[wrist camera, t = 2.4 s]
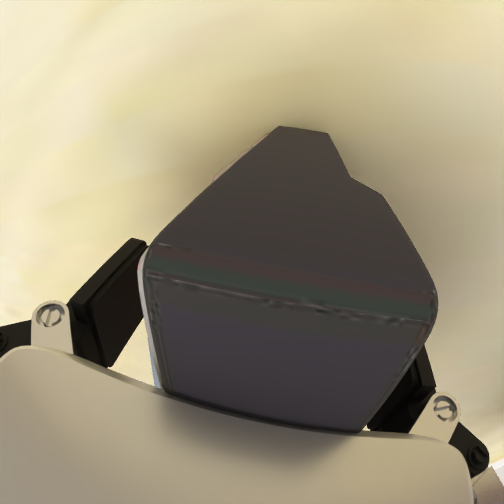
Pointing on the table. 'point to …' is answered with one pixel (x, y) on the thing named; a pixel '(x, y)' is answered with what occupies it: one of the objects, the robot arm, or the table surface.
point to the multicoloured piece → (286, 290)
